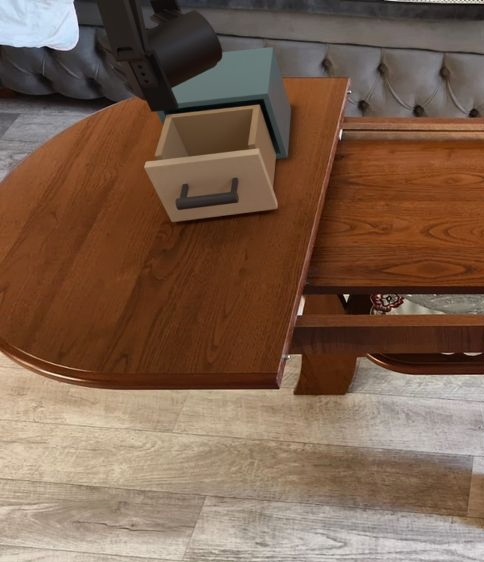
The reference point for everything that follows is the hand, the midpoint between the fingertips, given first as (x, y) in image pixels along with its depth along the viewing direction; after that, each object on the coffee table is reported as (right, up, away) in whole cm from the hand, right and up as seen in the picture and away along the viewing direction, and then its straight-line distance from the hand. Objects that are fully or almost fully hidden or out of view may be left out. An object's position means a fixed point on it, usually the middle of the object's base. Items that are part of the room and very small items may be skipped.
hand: (175, 78), depth 77 cm
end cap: (0, 0, 0) cm, 1 cm away
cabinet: (-2, -2, +24) cm, 24 cm away
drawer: (+1, -12, +14) cm, 18 cm away
